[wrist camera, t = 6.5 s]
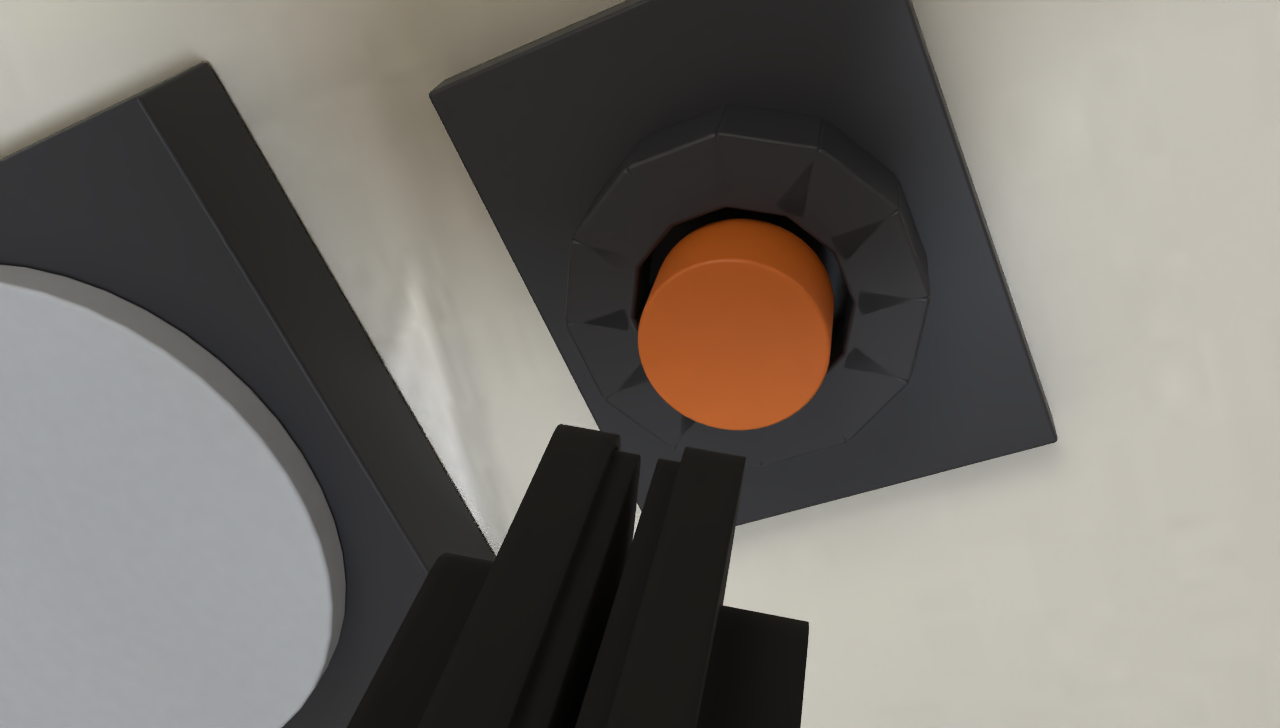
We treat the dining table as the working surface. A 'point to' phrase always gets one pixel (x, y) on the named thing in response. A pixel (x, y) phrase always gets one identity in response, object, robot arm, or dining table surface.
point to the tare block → (767, 191)
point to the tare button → (738, 325)
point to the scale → (193, 439)
